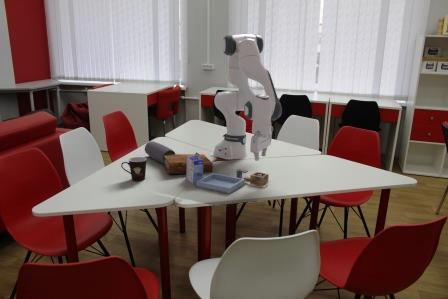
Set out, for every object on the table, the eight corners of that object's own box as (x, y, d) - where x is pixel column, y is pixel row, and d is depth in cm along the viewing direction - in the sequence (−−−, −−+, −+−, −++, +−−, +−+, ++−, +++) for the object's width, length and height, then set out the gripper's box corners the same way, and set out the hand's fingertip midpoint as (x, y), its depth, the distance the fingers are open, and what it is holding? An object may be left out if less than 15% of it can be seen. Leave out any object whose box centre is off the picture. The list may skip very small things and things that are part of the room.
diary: (168, 174, 192) (169, 163, 191) (162, 164, 209) (163, 154, 208) (212, 173, 199) (213, 162, 198) (203, 163, 217) (203, 153, 215)
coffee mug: (150, 177, 192) (149, 158, 190) (141, 182, 184) (140, 162, 182) (130, 174, 196) (129, 155, 193) (120, 179, 188) (119, 160, 186)
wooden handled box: (230, 181, 188) (230, 171, 187) (239, 176, 196) (239, 166, 195) (264, 188, 179) (265, 178, 178) (272, 182, 187) (272, 173, 186)
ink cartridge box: (203, 184, 185) (204, 155, 181) (193, 185, 182) (193, 156, 179) (196, 178, 193) (196, 150, 190) (186, 179, 191) (185, 151, 187)
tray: (196, 186, 180) (196, 181, 179) (213, 178, 192) (213, 172, 192) (229, 194, 171) (229, 188, 170) (244, 184, 183) (245, 179, 183)
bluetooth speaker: (176, 165, 213) (177, 148, 211) (161, 167, 207) (162, 149, 205) (157, 156, 230) (158, 139, 228) (143, 157, 225) (143, 140, 223)
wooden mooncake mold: (241, 181, 187) (241, 173, 186) (247, 177, 192) (247, 169, 191) (262, 185, 181) (262, 177, 180) (268, 181, 187) (268, 173, 186)
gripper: (260, 133, 168) (259, 164, 171) (274, 127, 186) (273, 154, 190) (247, 132, 171) (246, 162, 174) (262, 125, 189) (261, 153, 192)
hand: (260, 158), depth 182 cm, fingers open, 8 cm apart
